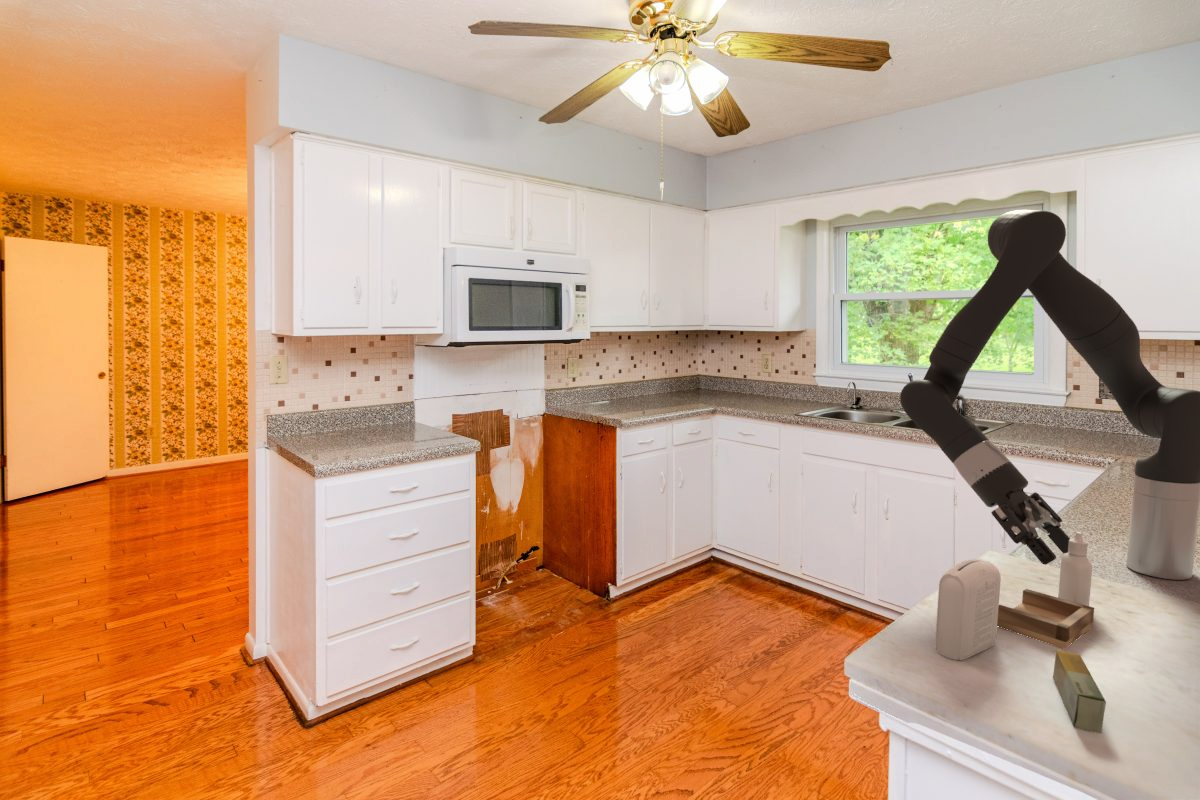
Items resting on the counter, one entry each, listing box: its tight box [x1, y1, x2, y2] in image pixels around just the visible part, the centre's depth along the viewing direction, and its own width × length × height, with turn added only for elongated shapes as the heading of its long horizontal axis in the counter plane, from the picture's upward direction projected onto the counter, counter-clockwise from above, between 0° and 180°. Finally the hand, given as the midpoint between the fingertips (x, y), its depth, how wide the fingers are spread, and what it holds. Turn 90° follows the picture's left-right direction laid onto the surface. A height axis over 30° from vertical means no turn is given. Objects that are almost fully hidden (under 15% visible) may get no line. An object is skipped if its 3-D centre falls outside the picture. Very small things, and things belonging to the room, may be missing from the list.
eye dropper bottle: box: [1057, 531, 1093, 606], centre depth 105 cm, size 4×6×12 cm
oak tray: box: [997, 588, 1095, 650], centre depth 99 cm, size 11×9×3 cm
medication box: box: [1052, 649, 1107, 734], centre depth 79 cm, size 12×3×4 cm, turn 156°
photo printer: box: [934, 558, 1002, 661], centre depth 91 cm, size 10×4×12 cm, turn 123°
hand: (1061, 556), depth 107 cm, fingers open, 8 cm apart
